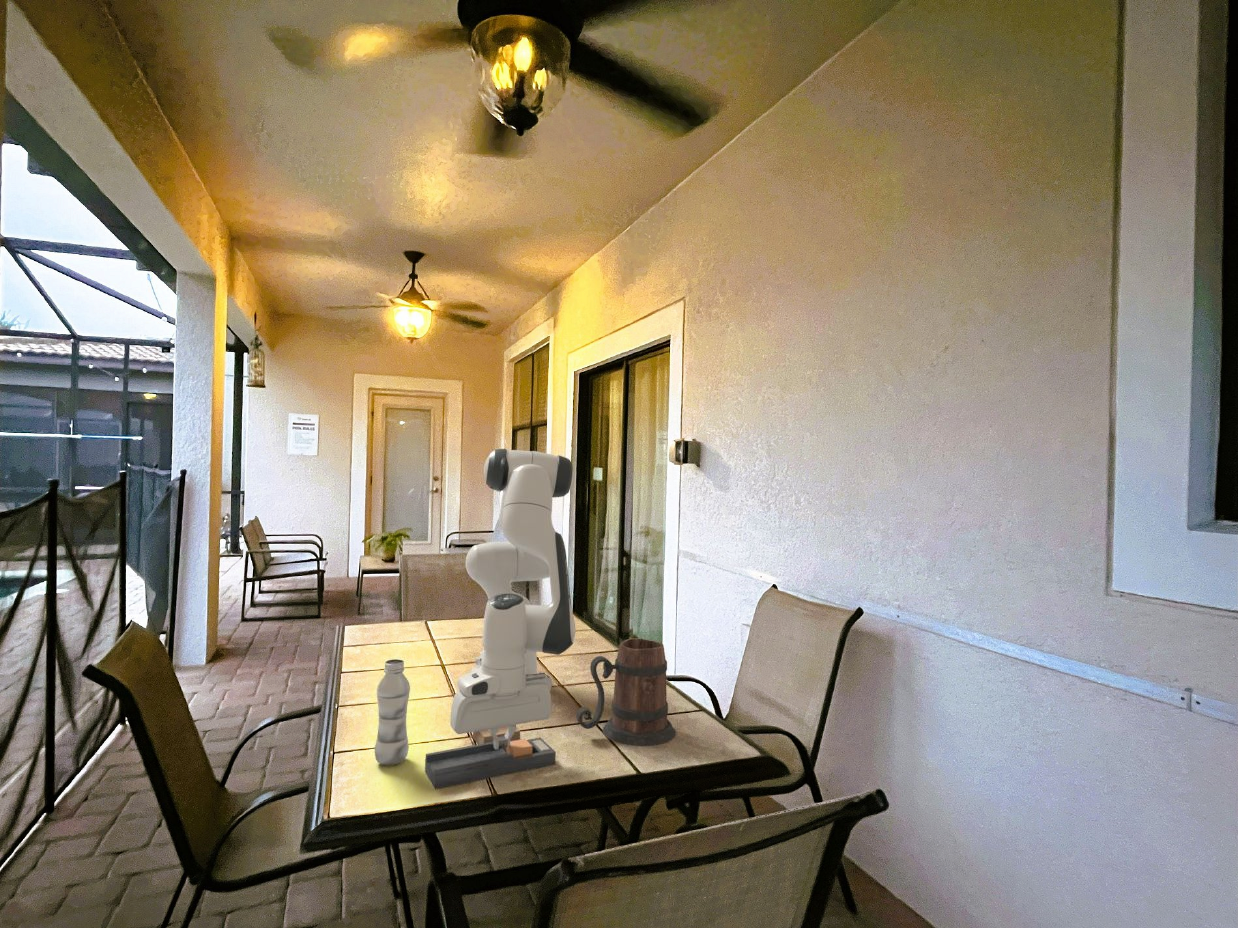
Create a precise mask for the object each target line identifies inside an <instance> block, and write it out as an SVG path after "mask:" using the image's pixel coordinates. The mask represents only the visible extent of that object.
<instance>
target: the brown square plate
mask: <svg viewBox="0 0 1238 928" xmlns="http://www.w3.org/2000/svg"><path fill="white" fill-rule="evenodd" d="M507 729H508V728H507V727H506V726H504V727H499V728H498V733H496V735H497V737H502V736H504V735H505V733H506V731H507ZM472 739H473V740H474V741H475V743H476V745H478V744H483V743H489V742H493V737H492V736H491V734H490V732H489V731H488V729H487V730H481V731H475V732H472ZM515 740H521V729H519V728H518V727H517V726H516V731H515V732H514V734H513V736H512V738H511V739H510V741H515Z"/></svg>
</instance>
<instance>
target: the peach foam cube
mask: <svg viewBox="0 0 1238 928" xmlns="http://www.w3.org/2000/svg"><path fill="white" fill-rule="evenodd" d="M527 740H528V739H526V738H522V739H521V738H520V740H515V741H510V747H507V748H506V753H507V754H509V753H512V754H513V757H519V756H524V755H529V754H532V745H531V744H530V743H529V742H528V741H527Z"/></svg>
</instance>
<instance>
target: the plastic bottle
mask: <svg viewBox="0 0 1238 928" xmlns="http://www.w3.org/2000/svg"><path fill="white" fill-rule="evenodd" d="M404 666H405V661H404V660H403V659H401V658H400V659H399V658H397V659H396V658H393V659H388V660H386V661H385V662H384V668H383V672H384V673H385V674H384V675H383V677H382V678H381V679H380V682H379V683H378V685H377V688H376V698H377V707H378V708H377V709H378V728H377V737H376V741H375V746H374V756H375V757H374V758H375V760H376V761H377V763H378V764H379V765H382V766H395V765H398V764H400V763H402V762H404V761H405V759H407V756H408V753H409V749H410V748H409V747H410V746H409V739H408V732H407V730H408V729H407V727H408V726H407V714H408V704H409V703H408V702H409V699H410V693H411V692H410V691H411V685H410V682H409V680H408V678H407V677H406V676H405V674H404V673H403V672H404V671H405V667H404Z"/></svg>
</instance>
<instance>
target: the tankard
mask: <svg viewBox="0 0 1238 928" xmlns="http://www.w3.org/2000/svg"><path fill="white" fill-rule="evenodd" d="M600 663H603V664H602V667H603V668H602V670H603V674H602V678H604V679H605V680H606V679H609V677H610V676H611V675H612V673H614V670H615V675H614V687H613V688H614V689H613V699H612V703H611V711H612V712H611V713H612V714H611V717H610V718H608V720H607V723H605V725H603V727H602V734H603V735H604V736H605V737H606V738H608V740H610V741H613V742H615V743H617V744H621V745H624V746H625V745H626V746H630V747H631V746H632V747H653V746H655V747H656V746H660V745H663V744H667V743H669V742H671V741H673V739H675V737H676V736H677V731H676V730H675V727H673V726H672V725H673V724H672V723H671V721H669V719H668V714H669V703H668V700H667V696H668V695H667V671H668V661H667V659H666V653H665V648H664V644H663V643H662V642H660V641H657V640H651V639H646V638H645V639H644V638H638V637H636V638H628V639H625V640H623V641H621V642H620V643H619V645H618V651H617V655H616V658H615V660H614V664H613V663H612V662H611V661H610V660H609V659H608V658H606V657H605V656H602V655H600V656H599V655H598V656H596V657H594V658H593V659H592V660H591V662H590V666H589V667H590V668H589V669H590V674H591V677H592V679H593V681H594V683H595V685H596V688H597V695H598V696H597V697H598V698H597V706H596V710H595V712H594V714H593V717H592V712H591V710H590V709H589V708H588V707H586V706H584V707H580V708H579V709H578V710H577V711H576V721H577V722H578V724H579V725H580V726H581V727H582V728H584V729H587V730H590V729H593V728H595V727H596V726H597V724H599V722H600V721H601V718H602V716H603V712H604V708H605V691H604V690H605V689H604V686H603V684H602V682H601V680H600V678H599V676H598V672H597V671H598V670H597V666H598V665H599V664H600ZM585 714H586V716H584V715H585ZM583 716H584V717H583ZM583 718H584V720H585V721H583Z"/></svg>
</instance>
